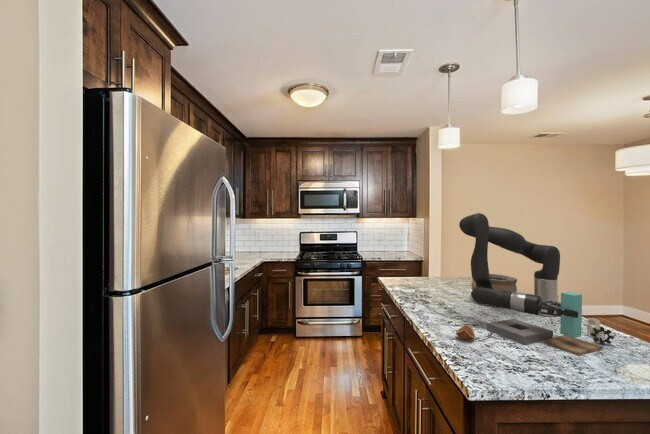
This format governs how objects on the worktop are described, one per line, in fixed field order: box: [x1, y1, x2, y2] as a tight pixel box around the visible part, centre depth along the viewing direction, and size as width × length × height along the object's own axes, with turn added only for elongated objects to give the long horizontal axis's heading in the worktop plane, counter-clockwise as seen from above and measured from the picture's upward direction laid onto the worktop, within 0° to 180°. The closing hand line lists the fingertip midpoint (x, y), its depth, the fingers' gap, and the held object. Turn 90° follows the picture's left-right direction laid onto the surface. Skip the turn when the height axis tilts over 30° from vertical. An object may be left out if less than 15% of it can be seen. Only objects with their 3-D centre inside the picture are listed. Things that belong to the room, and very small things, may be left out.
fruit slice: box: [455, 323, 476, 341], centre depth 120 cm, size 8×7×5 cm
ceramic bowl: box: [471, 273, 518, 292], centre depth 172 cm, size 22×22×15 cm
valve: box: [586, 317, 615, 346], centre depth 121 cm, size 7×7×12 cm
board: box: [541, 334, 603, 357], centre depth 115 cm, size 14×12×1 cm
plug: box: [559, 291, 583, 338], centre depth 115 cm, size 4×4×15 cm
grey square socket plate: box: [486, 318, 554, 346], centre depth 126 cm, size 16×16×3 cm
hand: (579, 313), depth 113 cm, fingers closed on plug, 5 cm apart
